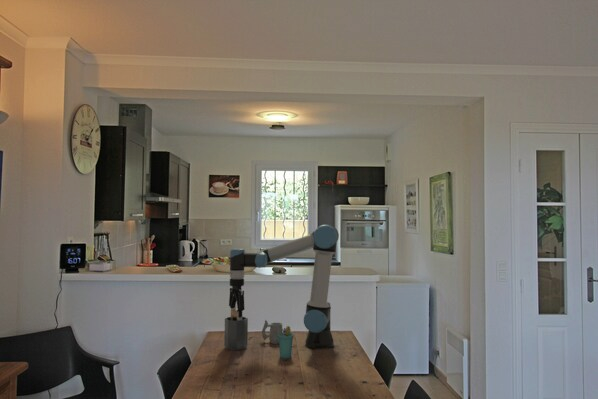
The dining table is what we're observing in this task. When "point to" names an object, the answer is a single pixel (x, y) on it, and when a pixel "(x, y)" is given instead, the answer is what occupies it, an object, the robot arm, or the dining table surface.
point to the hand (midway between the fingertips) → (236, 322)
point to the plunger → (234, 315)
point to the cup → (285, 343)
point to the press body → (236, 334)
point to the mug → (272, 331)
